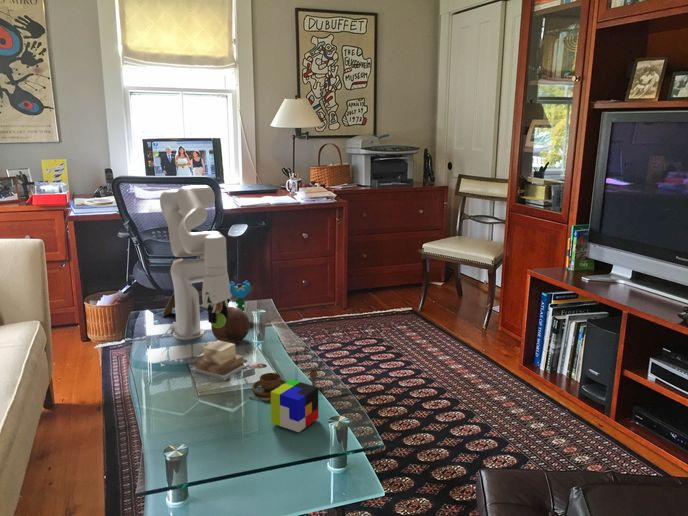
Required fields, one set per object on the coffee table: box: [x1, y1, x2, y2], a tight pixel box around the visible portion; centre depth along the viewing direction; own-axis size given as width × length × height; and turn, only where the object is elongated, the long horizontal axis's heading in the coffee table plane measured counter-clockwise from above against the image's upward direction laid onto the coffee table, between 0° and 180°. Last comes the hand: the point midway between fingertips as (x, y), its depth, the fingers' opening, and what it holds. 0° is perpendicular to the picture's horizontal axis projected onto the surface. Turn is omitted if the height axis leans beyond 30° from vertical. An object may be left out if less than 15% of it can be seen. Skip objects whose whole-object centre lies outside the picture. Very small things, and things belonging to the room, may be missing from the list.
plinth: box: [195, 339, 245, 376], centre depth 208 cm, size 12×12×8 cm
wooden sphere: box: [210, 306, 250, 345], centre depth 233 cm, size 15×15×15 cm
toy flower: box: [230, 280, 251, 312], centre depth 259 cm, size 9×9×18 cm
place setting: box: [248, 368, 318, 402], centre depth 192 cm, size 18×20×6 cm
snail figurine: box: [210, 302, 226, 328], centre depth 205 cm, size 5×6×12 cm
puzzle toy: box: [270, 379, 319, 433], centre depth 172 cm, size 10×10×10 cm
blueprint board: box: [189, 362, 251, 380], centre depth 209 cm, size 16×14×1 cm
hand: (218, 319), depth 205 cm, fingers closed on snail figurine, 5 cm apart
